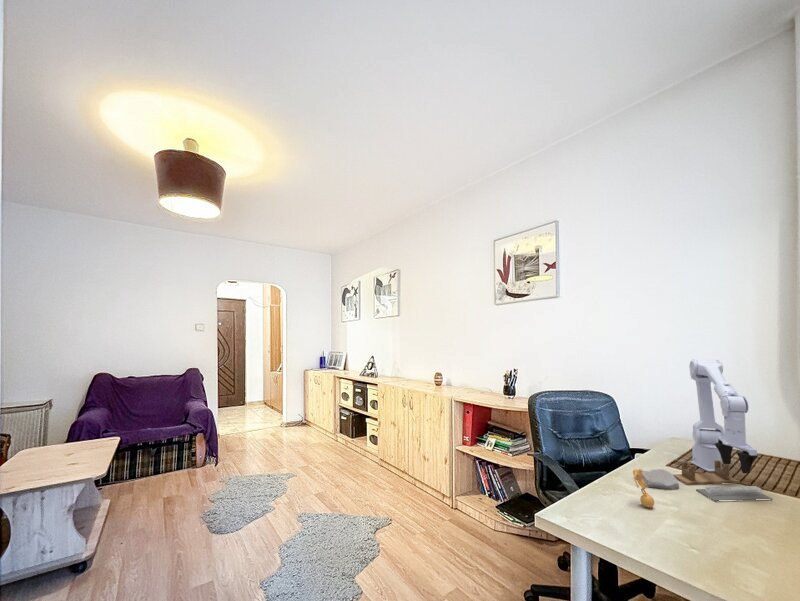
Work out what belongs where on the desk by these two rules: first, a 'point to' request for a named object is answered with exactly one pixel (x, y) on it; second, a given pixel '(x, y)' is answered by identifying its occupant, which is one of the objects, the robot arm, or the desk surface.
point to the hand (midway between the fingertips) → (736, 468)
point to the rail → (733, 490)
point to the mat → (733, 496)
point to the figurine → (645, 498)
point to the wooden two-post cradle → (705, 475)
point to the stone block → (660, 479)
